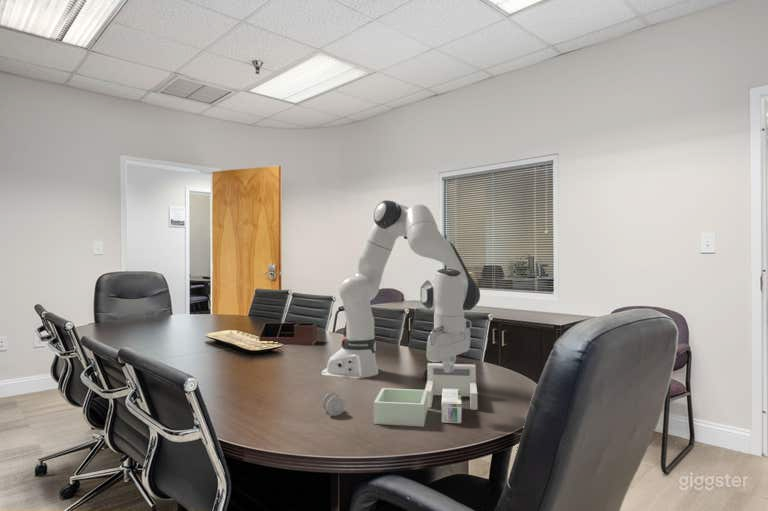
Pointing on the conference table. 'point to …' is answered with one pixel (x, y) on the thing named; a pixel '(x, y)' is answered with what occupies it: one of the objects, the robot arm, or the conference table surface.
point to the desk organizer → (290, 333)
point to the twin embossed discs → (333, 404)
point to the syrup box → (451, 406)
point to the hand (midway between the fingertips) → (448, 371)
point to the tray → (400, 407)
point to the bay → (452, 381)
